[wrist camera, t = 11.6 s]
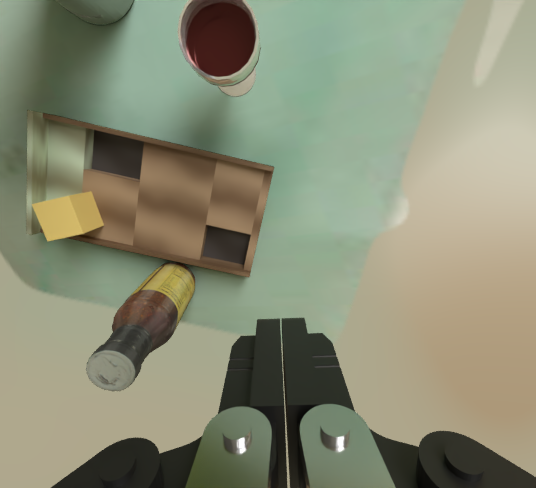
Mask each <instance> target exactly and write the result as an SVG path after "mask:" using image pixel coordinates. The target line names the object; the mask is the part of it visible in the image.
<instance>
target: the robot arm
mask: <svg viewBox="0 0 536 488" xmlns="http://www.w3.org/2000/svg"><path fill="white" fill-rule="evenodd" d="M55 1H56V2H58V3H59V4H61V5H62V6H63V7H64V8H65V9H67V10H68V11H70V12H71V13H73V14H74V15H76V16H77V17H79V18H81V19H82V20H84V21H86V22H89V23H91V24H98V25H104V24H110V23H113V22H115V21H117V20H119V19H120V18H122V17H123V16H124V15H125V14H126V13H127V11H128V10H129V9H130V7H131V5H132V3H133V0H55ZM282 343H283V369H284V386H285V387H284V388H285V405H286V422H287V440H288V457H289V475H290V488H536V477H534V476H533V475H531V474H529V473H528V472H526V471H525V470H523V469H521V468H520V467H518V466H516V465H515V464H513V463H511V462H510V461H508V460H506V459H505V458H503V457H501V456H500V455H498V454H497V453H495V452H493V451H492V450H490V449H488V448H486V447H485V446H484V445H482V444H480V443H478V442H477V441H475V440H473V439H471V438H469V437H467V436H464V435H462V434H458V433H455V432H450V431H436V432H432V433H430V434H428V435H426V436H425V437H424V438H423V439H422V441H421V442H420V445H419V447H417V446H413V445H409V444H406V443H402V442H398V441H394V440H391V439H388V438H385V437H383V436H381V435H379V434H377V433H375V432H373V431H372V430H370V429H369V427H368V426H367V424H366V422H365V421H364V420H363V419H362V418H361V417H360V416H359V415H358V414H357V413H356V412H355V410H354V407H353V404H352V401H351V398H350V396H349V392H348V389H347V386H346V383H345V380H344V377H343V374H342V371H341V368H340V366H339V362H338V359H337V357H336V353H335V350H334V347H333V344H332V342H331V341H330V340H329V339H328V338H327V337H326V336H325V335H324V334H323V333H313V334H308V333H307V328H306V323H305V319H304V318H282ZM285 442H286V441H285V414H284V391H283V372H282V353H281V334H280V319H257V327H256V336H240V338H239V339H238V340H237V341H236V342H235V343H234V345H233V346H232V349H231V354H230V361H229V364H228V371H227V374H226V378H225V383H224V388H223V392H222V397H221V402H220V407H219V412H218V414H217V415H216V416H215V417H214V418H212V420H211V421H210V422H209V423H208V425H207V426H206V428H205V430H204V433H203V436H201V437H200V438H199V439H197V440H196V441H193V442H192V443H190V444H187V445H184V446H182V447H179V448H176V449H173V450H170V451H166V452H163V453H160V454H159V451H158V448H157V447H156V446H155V444H154V443H152V442H151V441H149V440H147V439H144V438H128V439H125V440H121V441H119V442H116V443H114V444H112V445H110V446H108V447H107V448H105V449H104V450H102V451H101V452H99V453H98V454H97V455H95V456H94V457H92V458H91V459H90V460H88V461H87V462H86V463H84V464H83V465H81V466H80V467H79V468H77V469H76V470H75V471H73V472H72V473H70V474H69V475H68V476H66V477H65V478H63V479H62V480H61V481H60V482H58V483H57V484H55V485H54V486H53V487H51V488H287V467H286V443H285Z"/></svg>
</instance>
